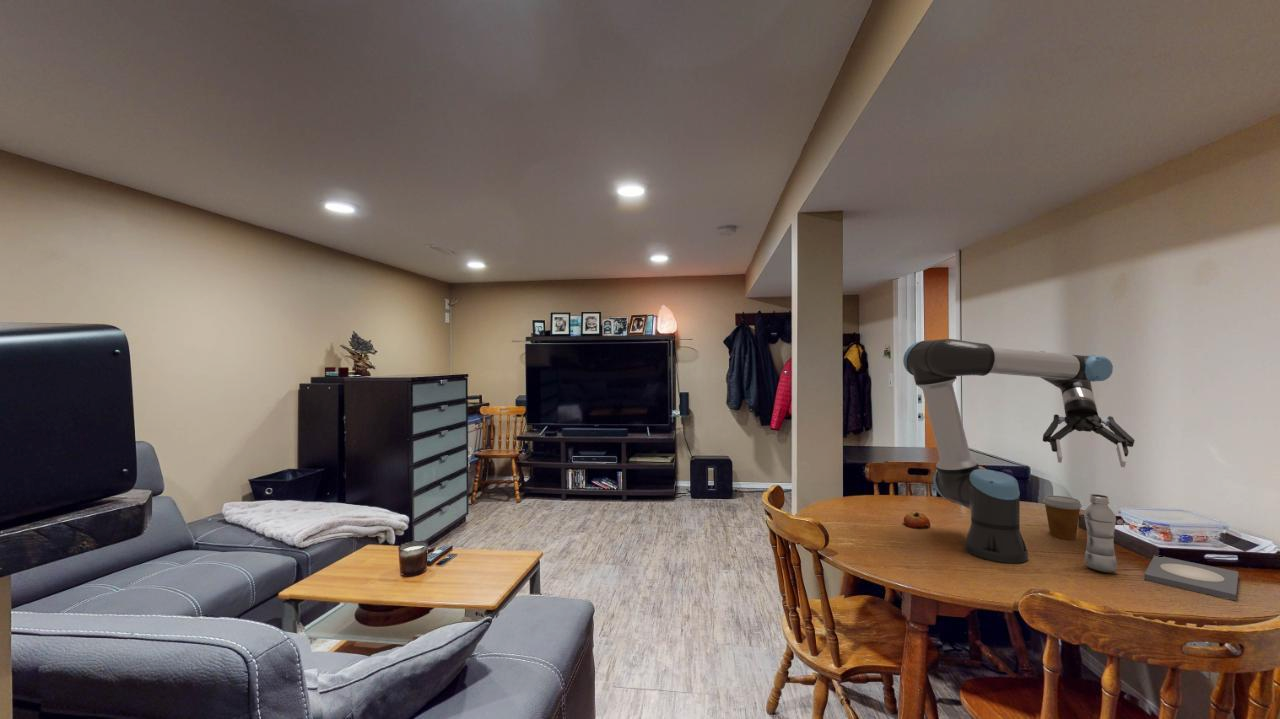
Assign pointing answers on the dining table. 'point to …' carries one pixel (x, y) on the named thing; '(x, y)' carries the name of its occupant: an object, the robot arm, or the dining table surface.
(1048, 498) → the disposable coffee cup
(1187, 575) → the board
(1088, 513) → the plastic bottle
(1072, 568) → the dining table surface
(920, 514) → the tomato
